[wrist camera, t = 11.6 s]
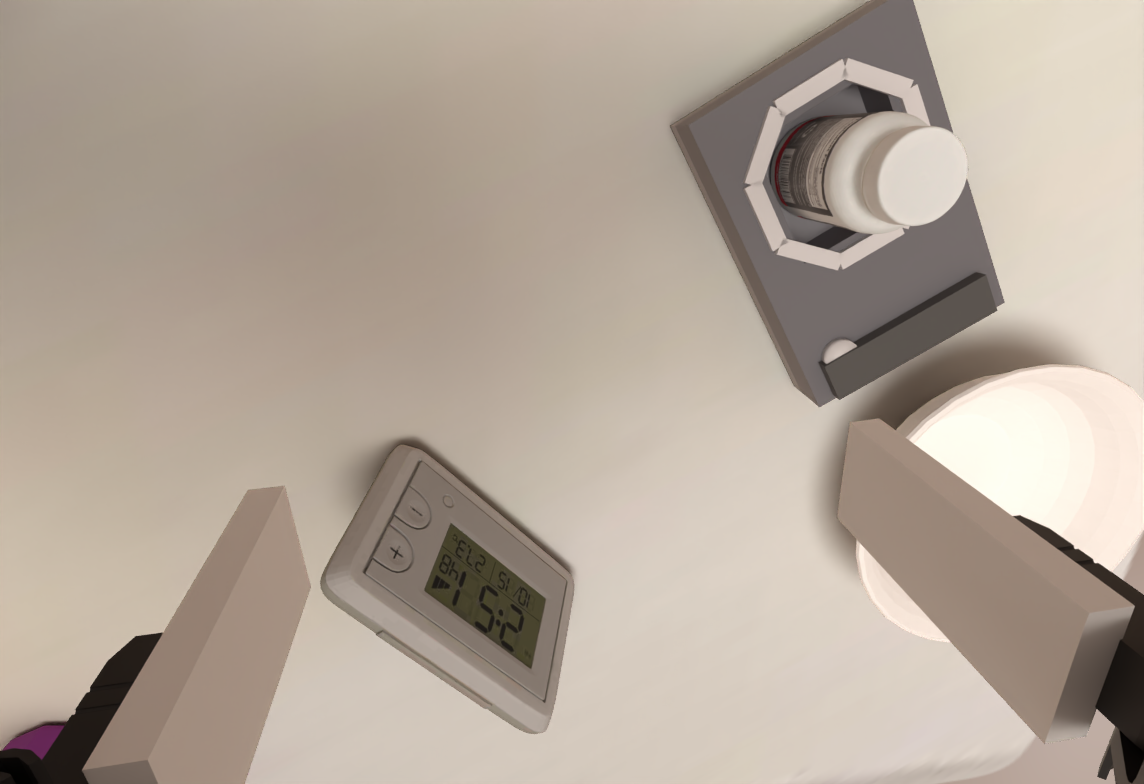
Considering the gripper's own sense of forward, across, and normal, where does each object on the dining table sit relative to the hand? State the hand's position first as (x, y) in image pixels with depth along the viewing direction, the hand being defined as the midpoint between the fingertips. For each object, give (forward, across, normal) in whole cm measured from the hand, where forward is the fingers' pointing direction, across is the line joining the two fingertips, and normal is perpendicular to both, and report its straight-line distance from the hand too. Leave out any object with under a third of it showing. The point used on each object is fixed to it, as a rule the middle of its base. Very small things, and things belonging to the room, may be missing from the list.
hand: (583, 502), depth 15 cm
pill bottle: (+23, +17, +5) cm, 29 cm away
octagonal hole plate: (+24, +18, +2) cm, 30 cm away
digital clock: (+24, -4, -17) cm, 30 cm away
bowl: (+23, +29, -16) cm, 40 cm away
